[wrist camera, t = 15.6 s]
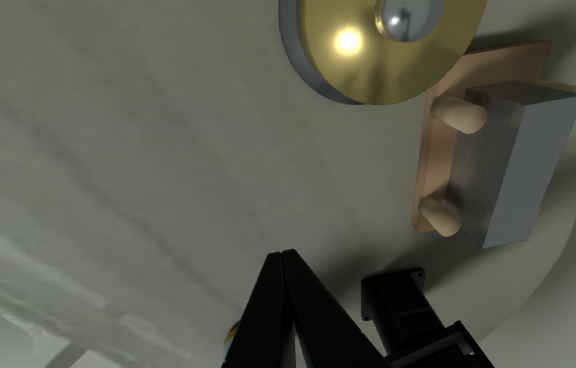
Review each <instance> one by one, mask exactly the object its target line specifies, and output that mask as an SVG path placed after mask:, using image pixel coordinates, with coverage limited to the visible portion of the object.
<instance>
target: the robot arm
mask: <svg viewBox="0 0 576 368" xmlns="http://www.w3.org/2000/svg"><path fill="white" fill-rule="evenodd" d="M424 279H425V271H424V270H423V268H416V269H411V270H406V271H401V272H396V273H391V274H386V275H381V276H376V277H371V278H366V279H364V280H362V282H361V317H362V319H363V321H369V320H373V322H374V324H375V327H376V329H377V331H378V334H379V336H380V339H381V341H382V343H383V346H384V348H385V350H386V353H387V355H388V356H385V357H383V356H382V355H381V354H380V352H379V351H378V350H377V349H376V348H375V347H374V345H373V344H372V343H371V342H370V341H369V339H368V338H367V337H366V336H365V334H364V333H362V331H361V330H360V328H359V327H358V326H357V325H356V324H355V322H354V321H353V320H352V319H351V317H350V316H349V315H348V314H347V313H346V311H345V310H344V309H343V308H342V306H341V305H340V304H339V303H338V301H337V300H336V299H335V298H334V297H333V295H332V294H331V293H330V292H329V290H328V289H327V288H326V287H325V286H324V284H323V283H322V282H321V281H320V279H319V278H318V277H317V276H316V274H315V273H314V272H313V271H312V270H311V268H310V267H309V266H308V265H307V263H306V262H305V261H304V260H303V259H302V257H301V256H300V255H299V254H298V252H297V251H296V250H295V249H289V250H284V251H282V254H281V252H274V253H269V254H268V255H267V257H266V259H265V262H264V264H263V267H262V269H261V271H260V274H259V276H258V279H257V281H256V284H255V286H254V289H253V291H252V293H251V296H250V298H249V301H248V303H247V306H246V308H245V310H244V313H243V315H242V318H241V320H240V323H239V325H238V328H237V330H236V332H235V335H234V337H233V340H232V342H231V345H230V347H229V349H228V352H227V354H226V357H225V362H223V364H222V366H221V368H296V355H295V334H294V324H295V328H296V332H297V335H298V339H299V342H300V346H301V349H302V353H303V356H304V360H305V363H306V366H307V368H495V367H494V366H493V365H492V363H491V362H490V361H489V359H488V358H487V357H486V355H485V354H484V352H483V351H482V350H481V348H480V347H479V346H478V344H477V343H476V342H475V340H474V339H473V338H472V336H471V335H470V334H469V332H468V331H467V330H466V328H465V327H464V325H463V324H462V323H461V321H460V320H458V321H456V322H454V324H453V325H451V326H449V327H447V328H445V327H444V325H443V324H442V322H441V320H440V319H439V317H438V316H437V314H436V313H435V311H434V310H433V308H432V307H431V305H430V304H429V302H428V300H427V299H426V297H425V296H424V294H423V293H422V291H423V285H424ZM293 320H294V322H293ZM472 352H473V355H471V354H469V353H472Z"/></svg>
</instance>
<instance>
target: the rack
mask: <svg viewBox="0 0 576 368" xmlns="http://www.w3.org/2000/svg"><path fill="white" fill-rule="evenodd" d="M550 44H551V41H550V40H529V41H523V42H518V43H512V44H506V45H500V46H494V47H488V48H482V49H476V50H470V51H465V52H464V54H463V55H462V57H461V58H460V59H459V61H458V62H457V63H456V64H455V66H454V67H453V68H452V69H451V70H450V71H449V72H448V73H447V74H446V75H445V76H444V77H443V78H442V79H441V80H440V81H439V82H437V83H436V84H435V85H434V86H432V87H431V88H429V89H428V90H427V98H426V106H425V115H424V123H423V131H422V140H421V148H420V157H419V165H418V173H417V182H416V190H415V198H414V207H413V215H412V224H411V225H412V226H413V227H414V229H415V230H416V231H417V232H418V233H424V232H429V231H434V230H437V231H438V232H439V233H440V234H441V235H442V236H444V237H448V236H451V235H454V234H455V233H457V232H458V231H459V229H460V227H461V222H460V221H459V220H458V219H457V218H456V217H455V216H454V215H453V214H452V213H451V212H450V211H449V210H448V209H446V208H445V207H444V202H445V197H446V191H447V186H448V181H449V176H450V170H451V165H452V160H453V154H454V149H455V144H456V139H457V133H458V130H459V131H461V132H463V133H465V134H471V133H474V132H476V131H478V130H479V129H480V128H481V127H482V126H483V125H484V123H485V122H486V119H487V111H486V110H485V108H483V107H481V106H478V105H475V104H472V103H469V102H467V101H464V96H465V91H466V88H469V87H474V86H480V85H486V84H492V83H497V82H503V81H509V80H516V81H521V82H526V83H531V84H536V85H540V86H545V87H550V88H555V89H560V90H564V91H569V92H574V93H576V86H573V85H567V84H562V83H557V82H552V81H546V80H541V79H540V76H541V72H542V69H543V66H544V63H545V60H546V57H547V53H548V50H549V47H550ZM542 210H543V205H542V204H541V205H540V207H539V210H538V212H537V215H536V217H537V216H538V215H540V213H541V212H542ZM536 217H535V218H536Z"/></svg>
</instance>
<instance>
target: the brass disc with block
mask: <svg viewBox="0 0 576 368" xmlns="http://www.w3.org/2000/svg"><path fill="white" fill-rule="evenodd" d="M377 2H378V0H297V3H296V26H297V32H298V38H299V41H300V45H301V48H302V50H303V53H304V55H305V57H306V59H307V61H308V62H309V64H310V66H311V67H312V68H313V69H314V71H315V72H316V73H317V74H318V75H319V76H320V77H321V78H322V79H323V80H324V81H326V82H327V83H329V84H330V85H331V86H333V87H334V88H335V89H337V90H338V91H339V92H341V93H342V94H344V95H345V96H347V97H349V98H351V99H353V100H355V101H358V102H361V103H365V104H371V105H388V104H395V103H399V102H403V101H406V100H408V99H411V98H414V97H416V96H417V95H419V94H421V93H423V92H425V91H426V90H428V89H429V88H431V87H432V86H434V85H435V84H436V83H437V82H439V81H440V80H441V79H442V78H443V77H444V76H445V75H446V74H447V73H448V72H449V71H450V70H451V69H452V68H453V67H454V66H455V64H456V63H457V62H458V61H459V59H460V58H461V57H462V55H463V54H464V52H465V51H466V49H467V48H468V46H469V44H470V42H471V41H472V39H473V37H474V35H475V33H476V30H477V28H478V26H479V24H480V21H481V18H482V15H483V12H484V9H485V4H486V0H445V2H444V9H443V13H442V16H441V18H440V20H439V22H438V24H437V25H436V27H435V28H434V29H433V31H432V32H431V33H430V34H429V35H427V36H426V37H425V38H423V39H421V40H419V41H417V42H412V43H406V42H397V41H391V40H388V39H386V38H384V37H383V36H382V35H381V33H380V32H379V30H378V28H377V26H376V21H375V10H376V5H377Z"/></svg>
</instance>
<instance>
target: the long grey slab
mask: <svg viewBox="0 0 576 368" xmlns="http://www.w3.org/2000/svg"><path fill="white" fill-rule="evenodd" d="M464 101H467V102H469V103H472V104H475V105H478V106H481V107H483V108H485V110H486V111H487V119H486V122H485V123H484V125H483V126H482V127H481V128H480V129H479V130H478V131H476V132H474V133H471V134H465V133H463V132H461V131H459V130H458V133H457V139H456V144H455V149H454V154H453V160H452V165H451V170H450V176H449V181H448V186H447V191H446V197H445V202H444V207H445V208H446V209H448V210H449V211H450V212H451V213H452V214H453V215H454V216H455V217H456V218H457V219H458V220H459V221H460V222H461V227H460V228H461V229H462V230H463V231H464V232H465V233H466V234H467V235H468V236H469V237H470V238H471V239H472V240H473V241H474V242H475V243H476V244H478V245H479V246H480V247H481V248H482V249H485V248H490V247H495V246H500V245H505V244H510V243H515V242H520V241H525V240H526V239H527V237H528V234H529V232H530V229H531V227H532V224H533V222H534V220H535V217H536V215H537V212H538V210H539V207H540V205H541V203H542V200H543V198H544V195H545V193H546V190H547V188H548V185H549V183H550V181H551V178H552V176H553V173H554V171H555V168H556V166H557V163H558V161H559V159H560V156H561V154H562V151H563V149H564V146H565V144H566V141H567V139H568V137H569V134H570V132H571V129H572V127H573V124H574V122H575V120H576V93H574V92H569V91H564V90H560V89H555V88H550V87H545V86H540V85H536V84H531V83H526V82H521V81H516V80H509V81H503V82H497V83H492V84H486V85H480V86H474V87H469V88H466V91H465V96H464Z"/></svg>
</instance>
